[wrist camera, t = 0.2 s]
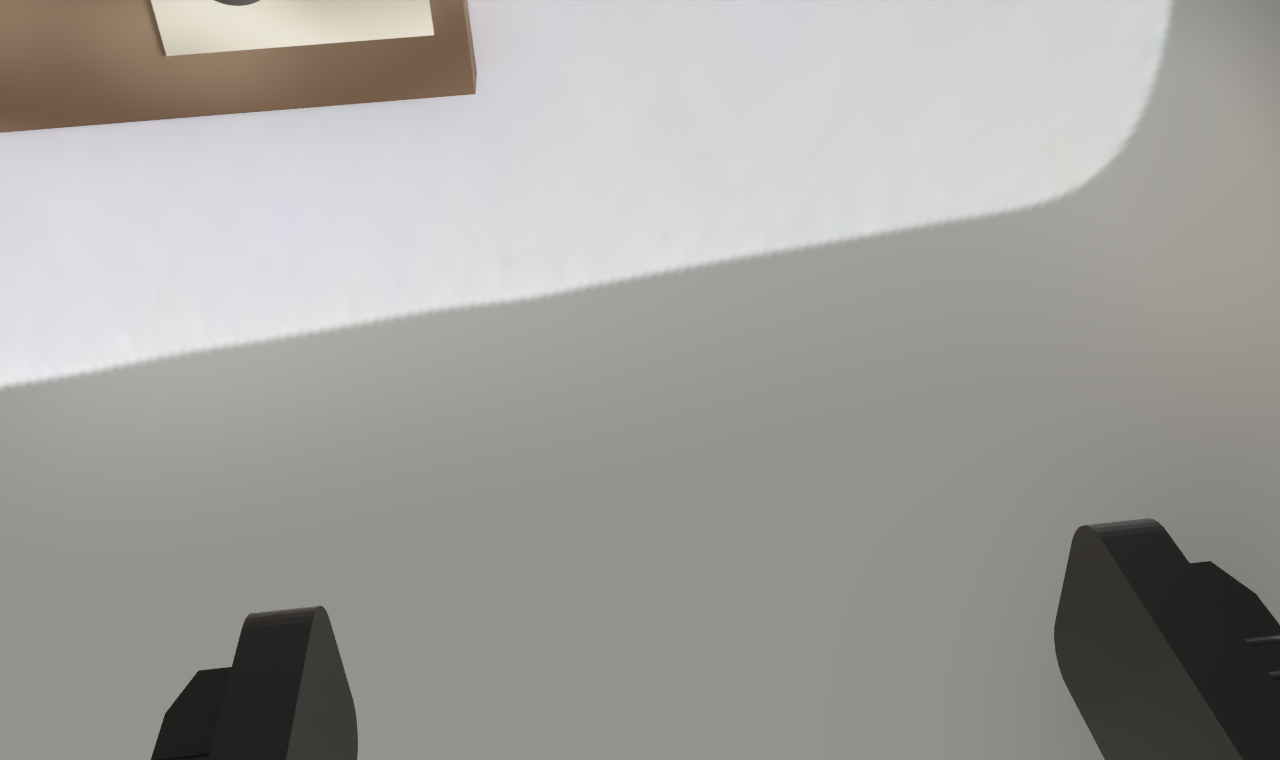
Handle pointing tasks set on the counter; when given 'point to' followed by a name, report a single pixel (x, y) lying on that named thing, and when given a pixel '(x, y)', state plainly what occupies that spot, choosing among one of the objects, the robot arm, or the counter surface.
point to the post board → (223, 57)
